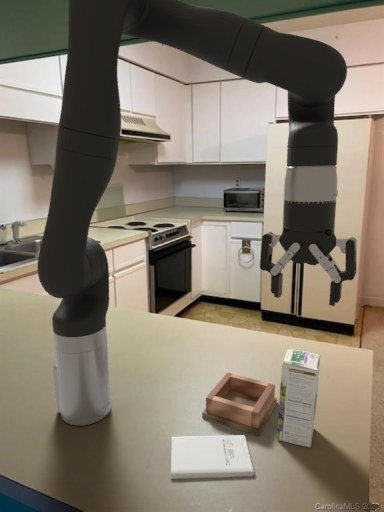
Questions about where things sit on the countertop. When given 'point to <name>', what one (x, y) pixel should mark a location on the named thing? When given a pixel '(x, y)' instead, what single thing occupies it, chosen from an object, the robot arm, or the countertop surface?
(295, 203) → the robot arm
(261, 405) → the socket
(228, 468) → the external hard drive
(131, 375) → the countertop surface
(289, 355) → the syrup box
